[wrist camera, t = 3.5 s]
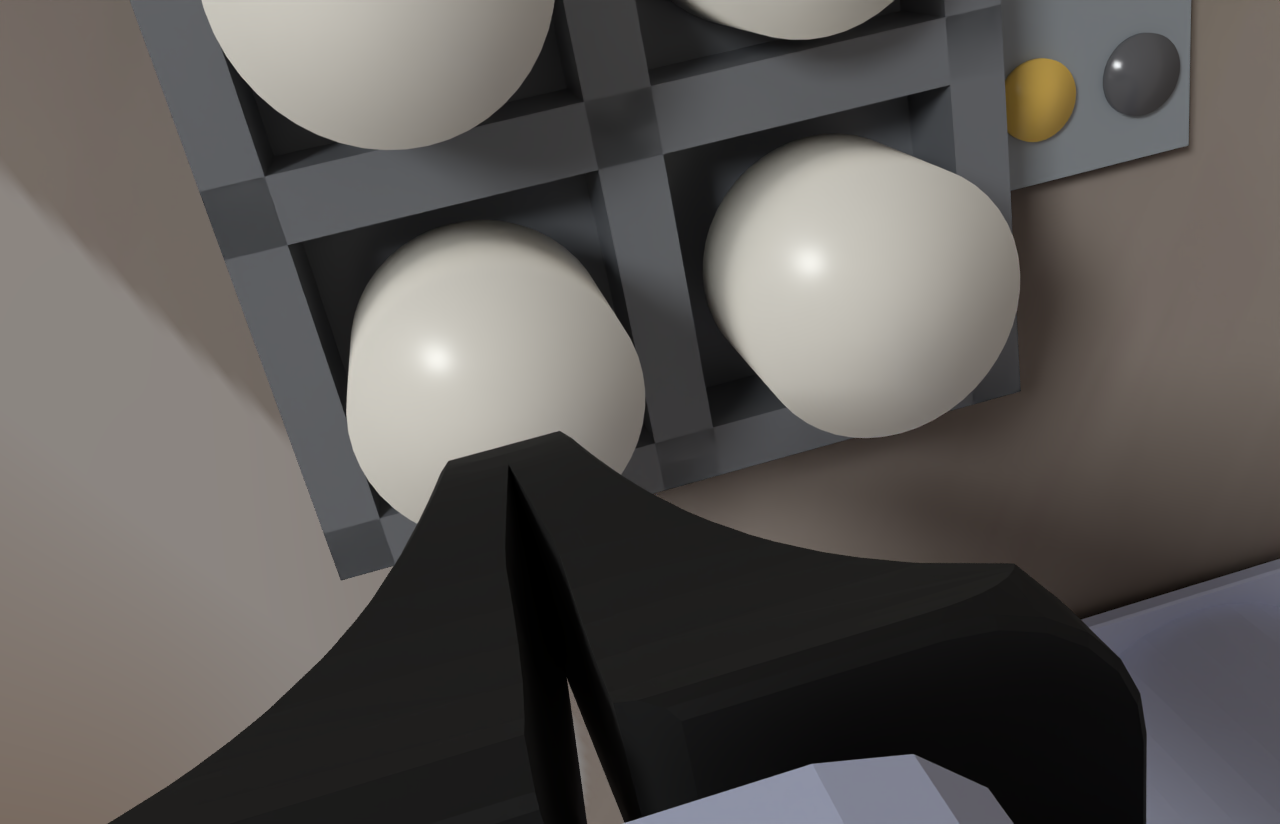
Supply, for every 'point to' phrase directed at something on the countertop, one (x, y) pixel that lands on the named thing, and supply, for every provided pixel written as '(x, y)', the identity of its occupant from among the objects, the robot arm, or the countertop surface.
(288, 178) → the tray
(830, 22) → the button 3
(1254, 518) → the countertop surface
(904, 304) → the cream rounded dome
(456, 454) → the cream round ball
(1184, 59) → the tile
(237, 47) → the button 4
